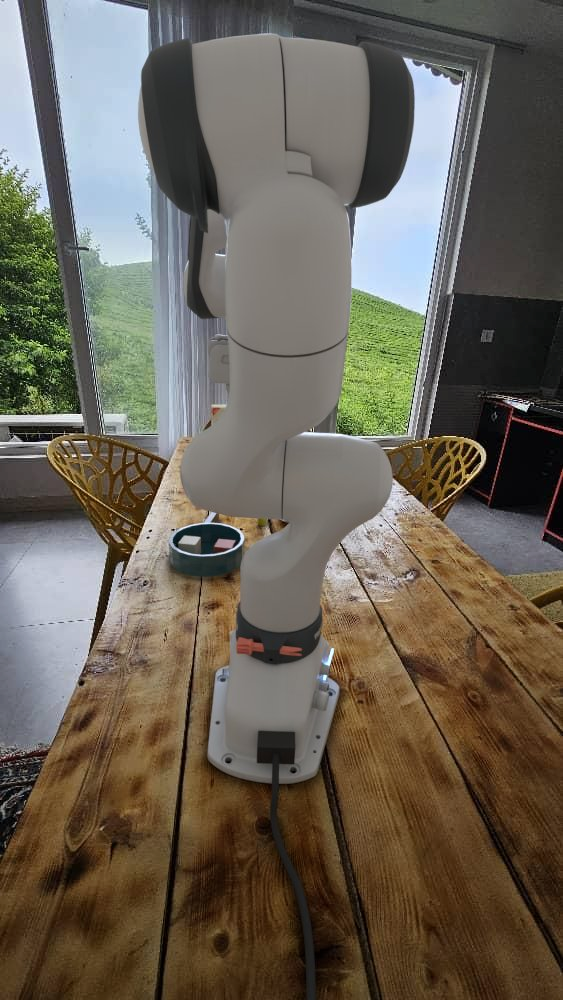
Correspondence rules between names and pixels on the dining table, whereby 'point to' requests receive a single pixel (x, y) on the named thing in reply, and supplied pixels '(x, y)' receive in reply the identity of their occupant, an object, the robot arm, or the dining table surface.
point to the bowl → (207, 550)
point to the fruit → (261, 521)
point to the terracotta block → (224, 545)
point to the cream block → (190, 544)
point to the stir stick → (212, 518)
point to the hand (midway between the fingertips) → (258, 407)
